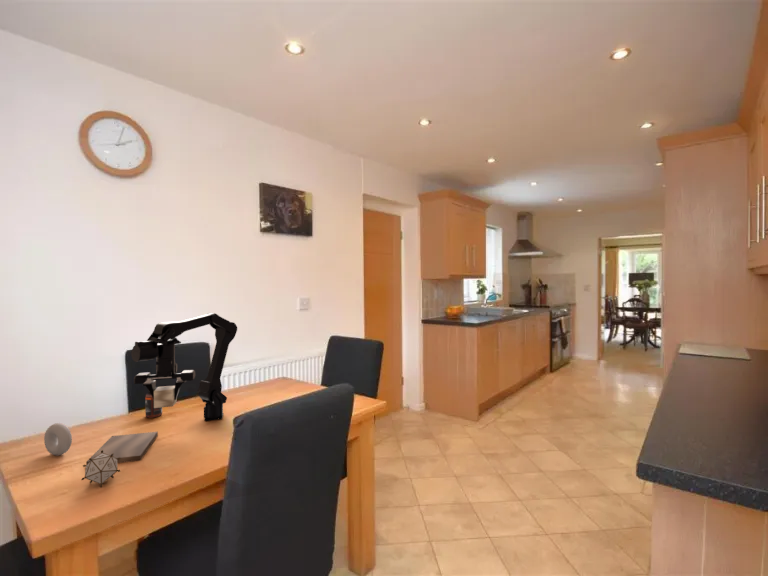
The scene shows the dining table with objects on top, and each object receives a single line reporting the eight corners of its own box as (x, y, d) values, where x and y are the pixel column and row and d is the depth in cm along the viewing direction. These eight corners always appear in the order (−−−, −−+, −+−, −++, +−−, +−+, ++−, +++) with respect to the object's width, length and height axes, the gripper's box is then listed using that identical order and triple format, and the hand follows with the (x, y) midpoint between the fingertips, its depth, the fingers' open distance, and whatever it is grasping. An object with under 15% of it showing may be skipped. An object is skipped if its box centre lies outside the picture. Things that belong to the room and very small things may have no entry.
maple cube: (176, 401, 141) (176, 385, 141) (172, 406, 135) (172, 389, 135) (158, 403, 139) (158, 386, 139) (153, 408, 133) (153, 391, 133)
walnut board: (157, 435, 136) (157, 431, 136) (140, 460, 116) (140, 455, 116) (111, 440, 131) (111, 436, 131) (86, 466, 112) (86, 461, 112)
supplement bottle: (165, 413, 159) (165, 386, 159) (155, 418, 153) (155, 390, 153) (152, 413, 160) (152, 386, 159) (141, 417, 154) (141, 390, 154)
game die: (98, 494, 104) (99, 457, 109) (128, 482, 105) (128, 445, 110) (71, 493, 97) (73, 453, 101) (104, 480, 97) (105, 441, 102)
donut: (74, 454, 120) (74, 423, 120) (62, 459, 117) (62, 427, 117) (53, 450, 123) (53, 419, 123) (41, 454, 120) (41, 423, 120)
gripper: (197, 352, 148) (197, 392, 148) (143, 354, 142) (142, 396, 142) (192, 357, 137) (192, 400, 137) (133, 360, 131) (133, 405, 131)
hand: (165, 400), depth 137 cm, fingers closed on maple cube, 6 cm apart
